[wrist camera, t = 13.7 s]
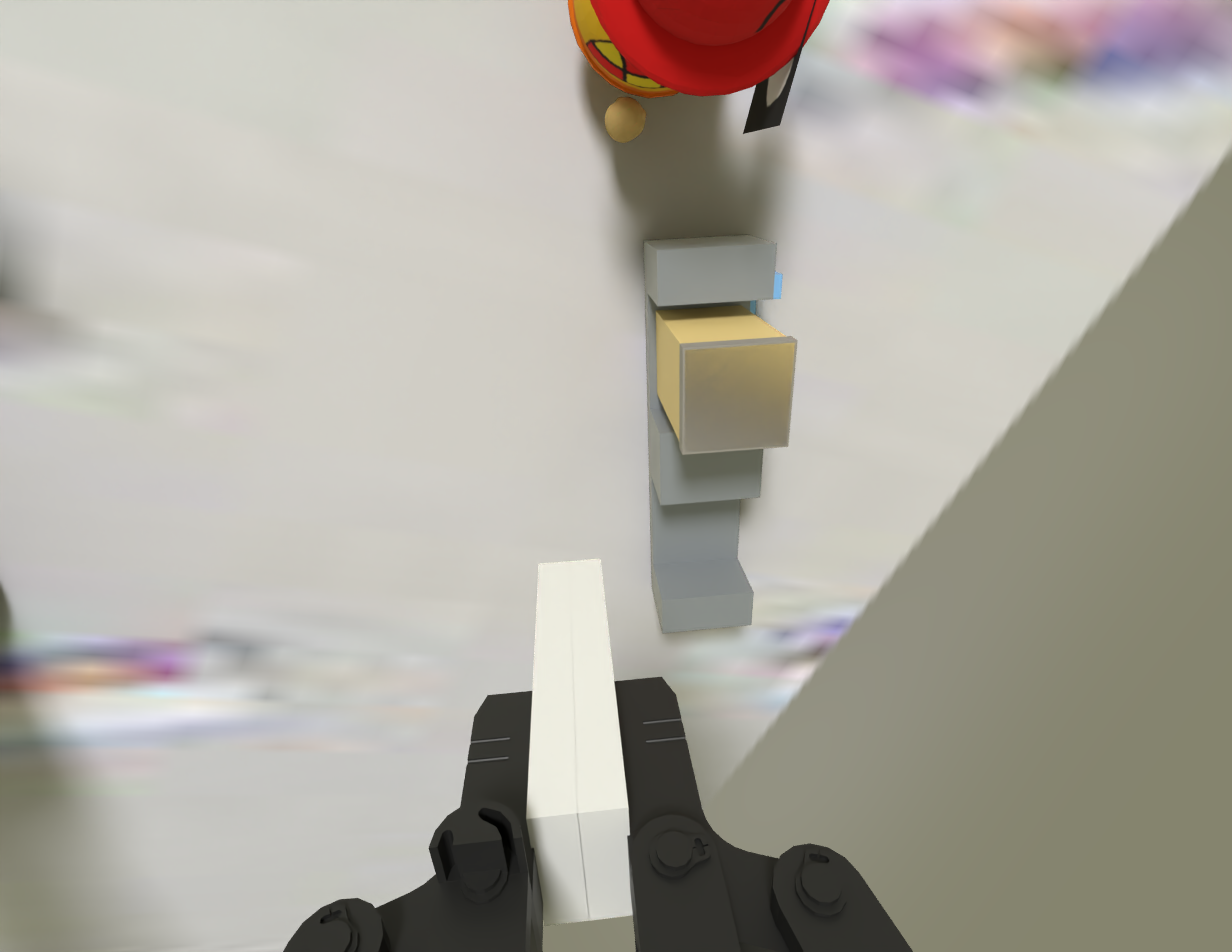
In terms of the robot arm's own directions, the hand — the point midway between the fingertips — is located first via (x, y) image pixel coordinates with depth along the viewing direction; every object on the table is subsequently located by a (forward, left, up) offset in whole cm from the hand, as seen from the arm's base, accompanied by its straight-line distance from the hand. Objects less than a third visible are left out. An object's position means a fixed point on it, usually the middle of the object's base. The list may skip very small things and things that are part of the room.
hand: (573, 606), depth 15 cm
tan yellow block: (+8, 0, -23) cm, 25 cm away
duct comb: (+8, -6, -24) cm, 26 cm away
